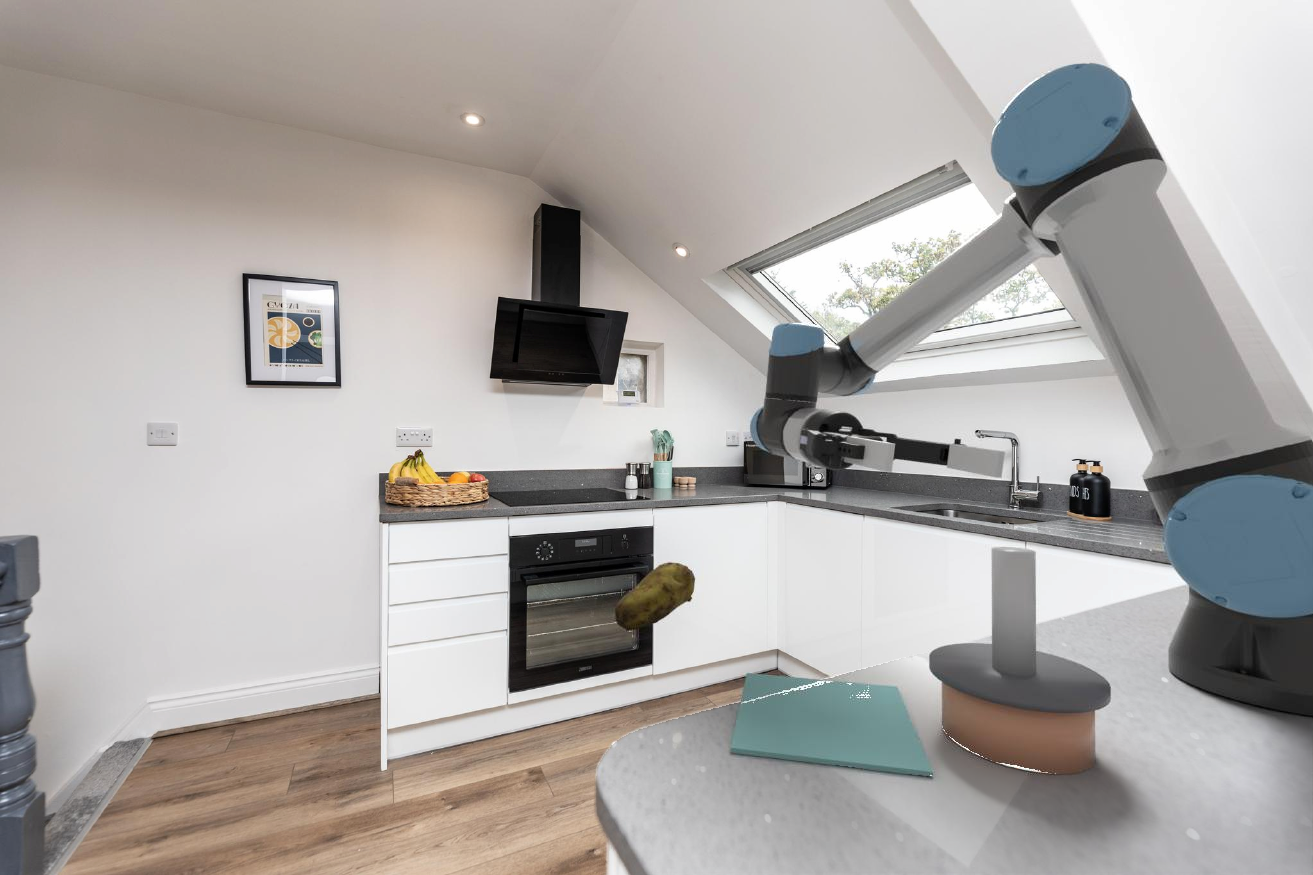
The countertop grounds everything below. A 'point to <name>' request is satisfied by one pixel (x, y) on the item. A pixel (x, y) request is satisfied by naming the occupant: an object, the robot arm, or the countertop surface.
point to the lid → (1018, 651)
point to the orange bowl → (1020, 733)
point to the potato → (655, 596)
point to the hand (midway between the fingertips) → (947, 461)
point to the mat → (828, 725)
